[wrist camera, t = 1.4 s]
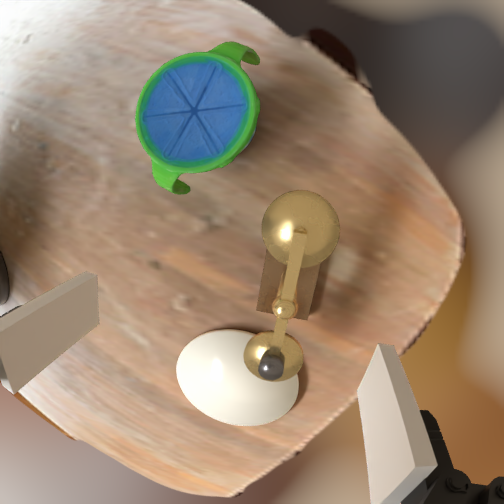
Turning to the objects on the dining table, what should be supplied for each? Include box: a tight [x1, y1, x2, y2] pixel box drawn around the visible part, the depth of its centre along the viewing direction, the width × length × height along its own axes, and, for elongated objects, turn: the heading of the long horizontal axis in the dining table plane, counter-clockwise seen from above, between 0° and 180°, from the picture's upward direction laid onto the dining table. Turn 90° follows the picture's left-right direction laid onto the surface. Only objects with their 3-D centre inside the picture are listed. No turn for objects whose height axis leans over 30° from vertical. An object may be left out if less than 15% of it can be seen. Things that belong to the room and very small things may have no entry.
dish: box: [177, 329, 299, 426], centre depth 39 cm, size 17×17×1 cm
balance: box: [243, 190, 340, 382], centre depth 29 cm, size 6×20×11 cm, turn 172°
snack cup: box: [135, 42, 260, 194], centre depth 27 cm, size 16×10×10 cm
